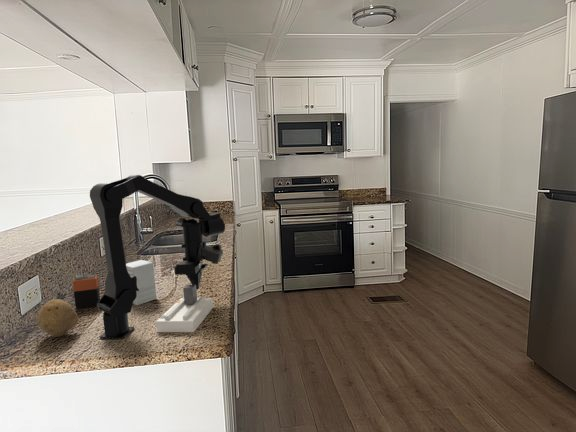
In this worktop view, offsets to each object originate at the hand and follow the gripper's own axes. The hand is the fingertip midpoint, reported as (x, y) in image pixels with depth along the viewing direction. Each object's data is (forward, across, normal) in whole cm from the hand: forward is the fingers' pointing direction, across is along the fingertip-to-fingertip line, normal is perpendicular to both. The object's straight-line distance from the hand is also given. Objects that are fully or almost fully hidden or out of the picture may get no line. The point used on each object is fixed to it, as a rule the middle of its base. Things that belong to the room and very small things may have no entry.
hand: (197, 289), depth 125 cm
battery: (+6, +2, +37) cm, 38 cm away
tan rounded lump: (+6, -21, +32) cm, 38 cm away
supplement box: (+6, +6, +22) cm, 23 cm away
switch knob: (+2, -6, 0) cm, 6 cm away
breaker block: (+6, -10, 0) cm, 12 cm away
